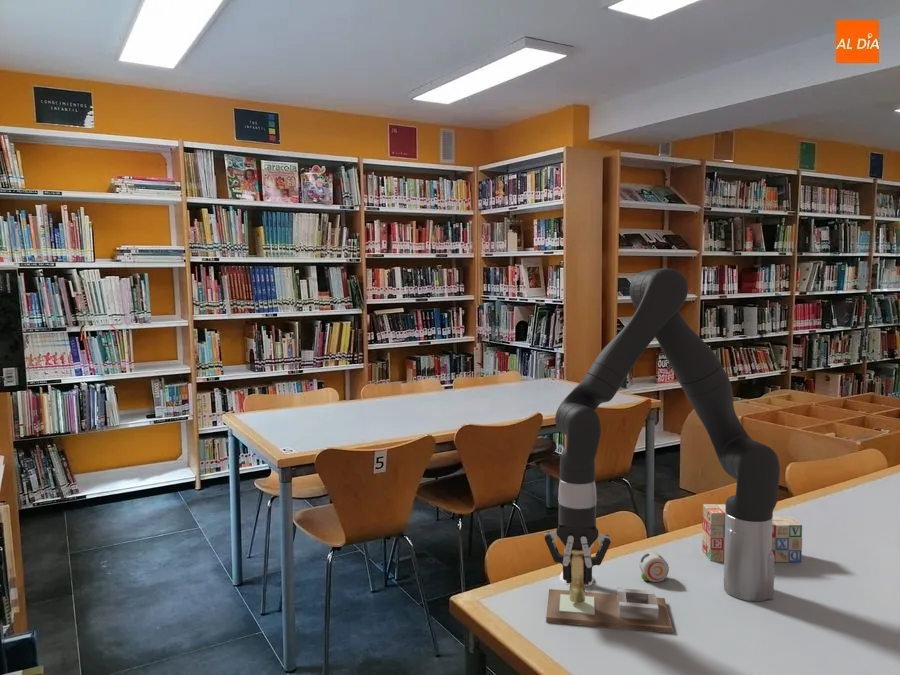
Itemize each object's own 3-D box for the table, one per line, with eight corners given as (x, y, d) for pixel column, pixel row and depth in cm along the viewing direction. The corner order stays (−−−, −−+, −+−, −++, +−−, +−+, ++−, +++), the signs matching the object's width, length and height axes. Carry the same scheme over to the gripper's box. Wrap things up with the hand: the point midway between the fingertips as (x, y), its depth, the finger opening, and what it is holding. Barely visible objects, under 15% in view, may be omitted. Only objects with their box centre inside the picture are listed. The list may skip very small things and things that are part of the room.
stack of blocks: (790, 552, 161) (791, 503, 160) (801, 563, 154) (803, 512, 153) (701, 551, 162) (702, 503, 161) (709, 562, 156) (710, 512, 155)
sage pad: (594, 598, 137) (594, 596, 137) (594, 614, 130) (594, 613, 130) (560, 595, 138) (560, 594, 138) (559, 611, 131) (559, 610, 131)
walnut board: (664, 602, 136) (664, 586, 136) (672, 633, 125) (672, 615, 124) (549, 593, 141) (549, 577, 141) (546, 621, 129) (546, 605, 129)
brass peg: (587, 595, 135) (587, 544, 134) (587, 604, 131) (587, 552, 130) (567, 593, 136) (567, 543, 135) (567, 603, 132) (567, 550, 131)
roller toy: (636, 574, 149) (637, 550, 149) (663, 573, 150) (664, 549, 149) (643, 583, 145) (643, 558, 145) (671, 582, 145) (671, 557, 145)
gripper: (612, 496, 134) (611, 576, 136) (543, 493, 137) (543, 571, 139) (613, 509, 127) (613, 593, 128) (541, 505, 130) (541, 588, 131)
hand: (577, 581), depth 133 cm, fingers closed on brass peg, 3 cm apart
